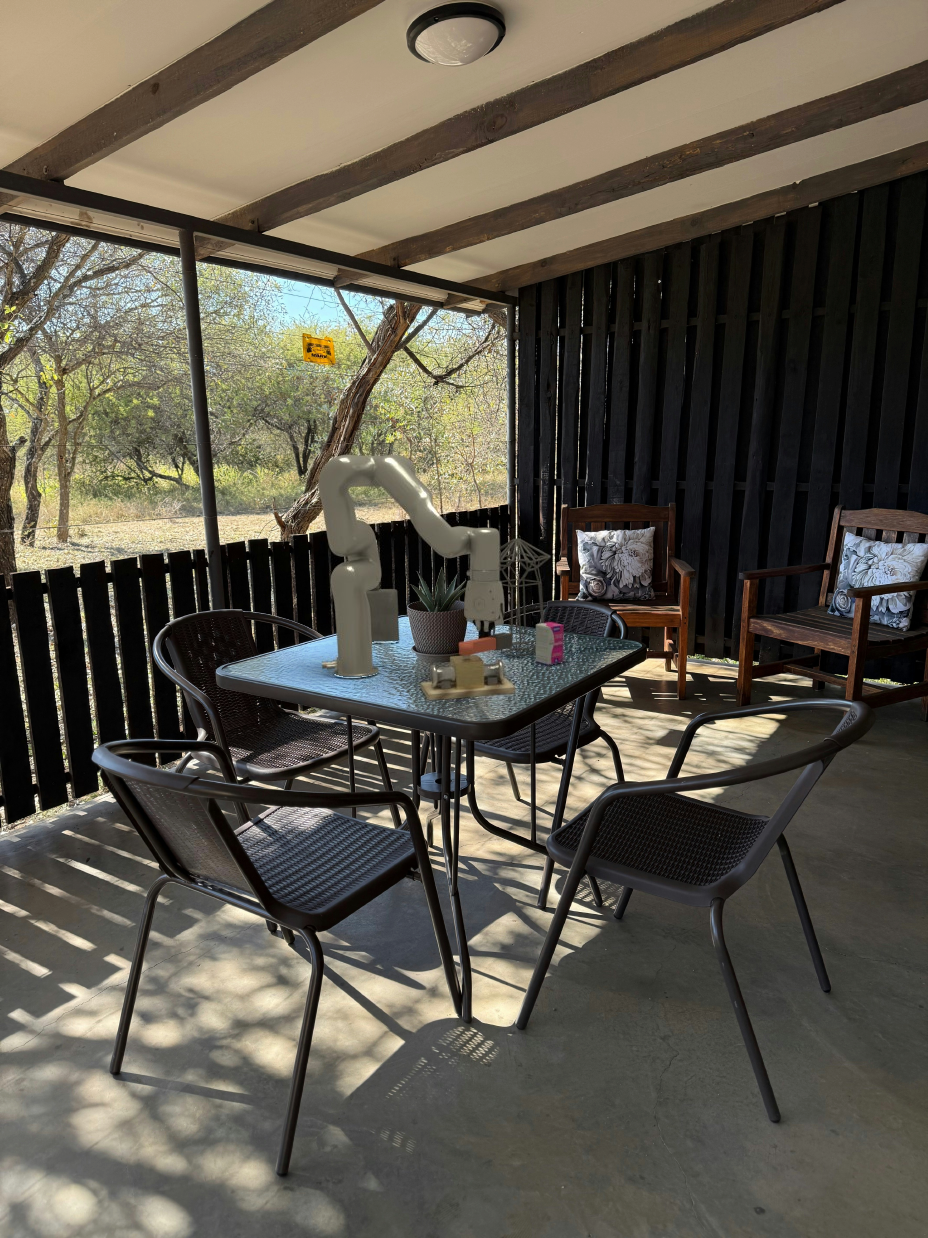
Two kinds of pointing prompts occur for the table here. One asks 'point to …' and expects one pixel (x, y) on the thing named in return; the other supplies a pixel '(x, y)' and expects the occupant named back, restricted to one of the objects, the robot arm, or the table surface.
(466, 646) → the valve lever
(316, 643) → the table surface
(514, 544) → the geometric lantern
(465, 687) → the pipe valve
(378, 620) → the flask
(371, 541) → the robot arm
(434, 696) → the mounting board
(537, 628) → the supplement box
